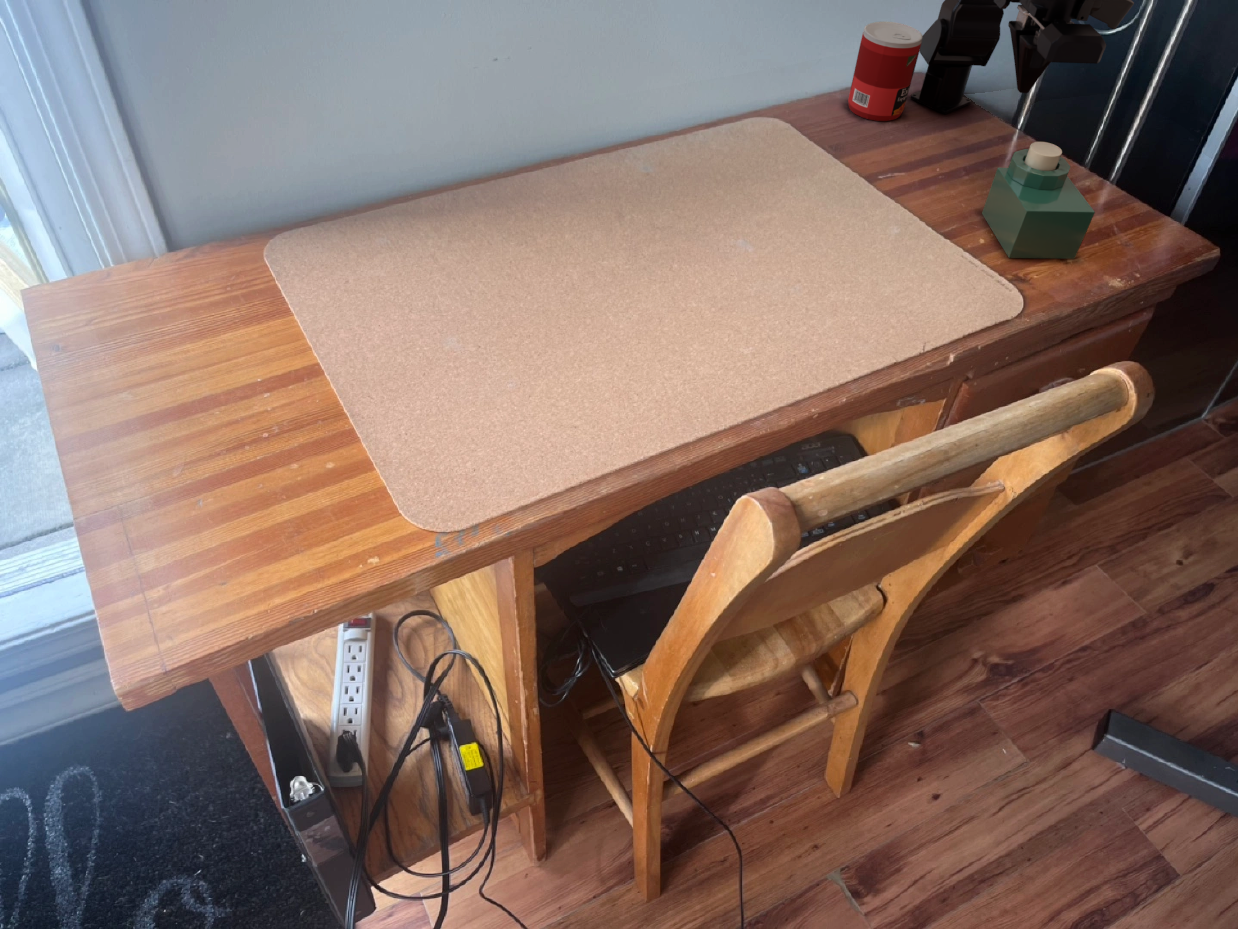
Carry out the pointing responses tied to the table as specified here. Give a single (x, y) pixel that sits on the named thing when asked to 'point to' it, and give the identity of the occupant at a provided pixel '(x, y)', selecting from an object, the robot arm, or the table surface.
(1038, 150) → the cream push button
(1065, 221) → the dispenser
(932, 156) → the table surface
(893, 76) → the canned food
